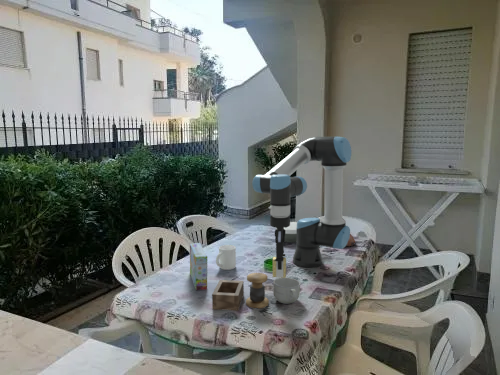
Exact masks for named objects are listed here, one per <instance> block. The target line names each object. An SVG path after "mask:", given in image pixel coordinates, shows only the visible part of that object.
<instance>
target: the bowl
mask: <svg viewBox="0 0 500 375" xmlns="http://www.w3.org/2000/svg"><path fill="white" fill-rule="evenodd" d="M297 222H298V221H297ZM297 222H296V221H290V226H289V227H286V228H285V227H284V230H285V240H284V243H291V244H292V243H297V229H296V228H297ZM275 230H277V228H276V227H275Z"/></svg>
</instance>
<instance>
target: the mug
mask: <svg viewBox="0 0 500 375" xmlns="http://www.w3.org/2000/svg"><path fill="white" fill-rule="evenodd" d="M236 250H237V247H236V246H235V245H231V244H223V245H221V246H219V247H218V253H217V256H216V259H215V263H216V265H217V267H218V268H220V269H221V270H224V271H229V270H230V271H231V270H234V269H235V268H236V266H237V261H236V260H237V252H236Z"/></svg>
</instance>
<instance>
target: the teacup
mask: <svg viewBox="0 0 500 375" xmlns="http://www.w3.org/2000/svg"><path fill="white" fill-rule="evenodd" d="M272 283H273V288H272V289H273V290H272V291H273V294H272V295H273V297H274V299H276V300H277V301H278V303H281V304H285V305H290V304H293V303H294V302H296V301H298V300H299V298H300V294H301V293H300V292H301V285H302V284H301V281H300V280H298V279H295V278H291V277H286V278H281V277H276V278H274V279H273V282H272Z"/></svg>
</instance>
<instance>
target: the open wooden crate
mask: <svg viewBox="0 0 500 375" xmlns="http://www.w3.org/2000/svg"><path fill="white" fill-rule="evenodd" d="M244 282H245V281H244V280H230V279H229V280H228V279H219V281H218V282H217V283H216V284H217V285H216V287H215V288H214V290H213V292H212V294H211V301H212V302H211V303H212V307H211V309H212V310H219V311H233V312H234V311H237V312H239V310H240V308H241V307H240V306H241V304H242V301H243V298H244V293H245V292H244V291H245V290H244V288H245V287H244Z"/></svg>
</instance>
